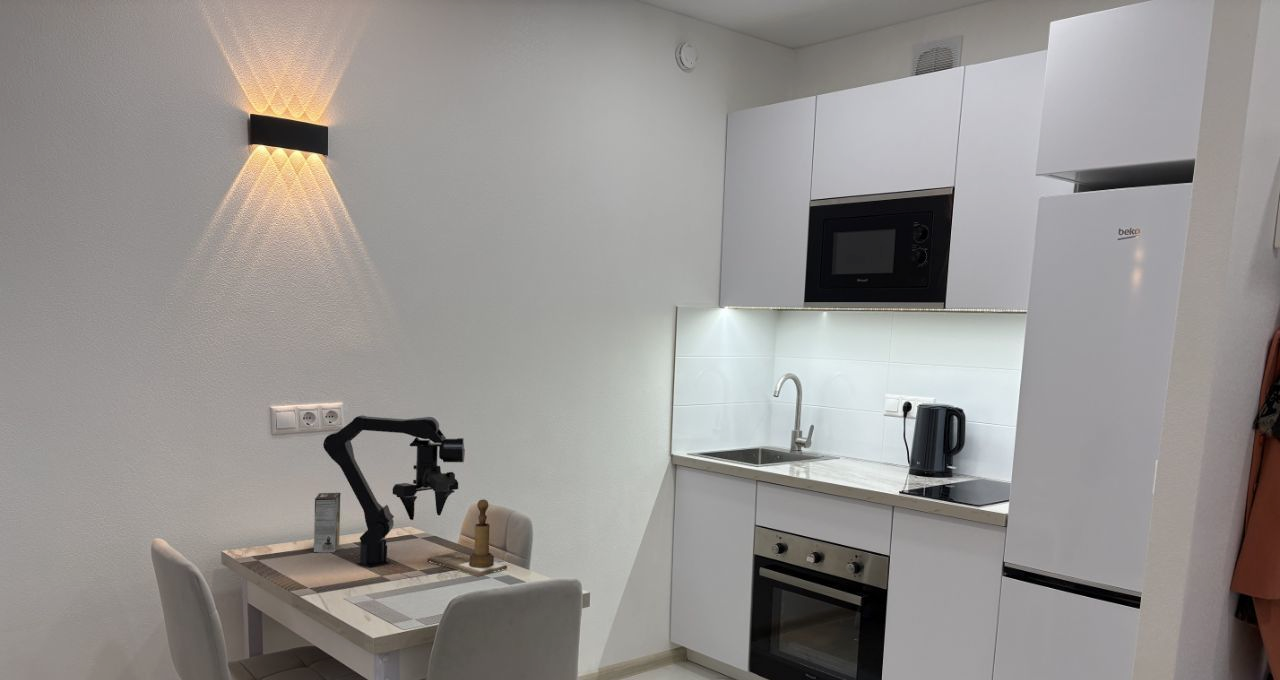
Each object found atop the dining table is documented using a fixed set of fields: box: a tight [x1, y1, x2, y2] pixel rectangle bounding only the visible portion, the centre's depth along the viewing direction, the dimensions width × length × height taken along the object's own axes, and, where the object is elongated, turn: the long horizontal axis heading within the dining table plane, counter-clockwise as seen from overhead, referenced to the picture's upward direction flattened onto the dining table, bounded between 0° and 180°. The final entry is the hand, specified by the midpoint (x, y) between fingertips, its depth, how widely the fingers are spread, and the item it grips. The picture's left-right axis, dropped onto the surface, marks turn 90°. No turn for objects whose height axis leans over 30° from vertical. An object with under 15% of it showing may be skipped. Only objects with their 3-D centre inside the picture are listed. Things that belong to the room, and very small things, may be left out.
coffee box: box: [313, 492, 342, 553], centre depth 255 cm, size 9×6×16 cm
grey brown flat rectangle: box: [426, 551, 508, 577], centre depth 240 cm, size 10×22×1 cm, turn 50°
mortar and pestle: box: [469, 499, 495, 568], centre depth 236 cm, size 7×6×18 cm
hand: (425, 517), depth 241 cm, fingers open, 9 cm apart
